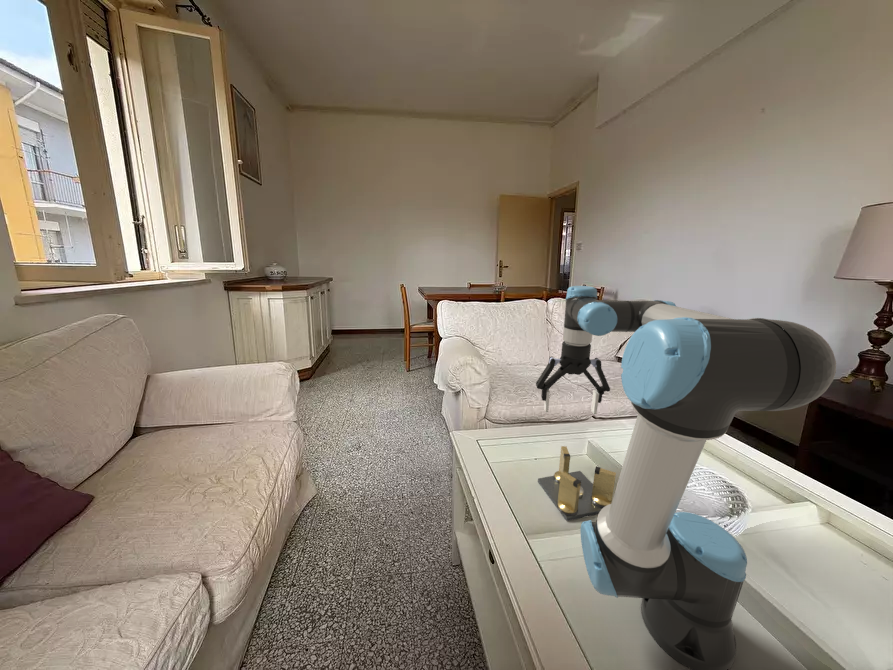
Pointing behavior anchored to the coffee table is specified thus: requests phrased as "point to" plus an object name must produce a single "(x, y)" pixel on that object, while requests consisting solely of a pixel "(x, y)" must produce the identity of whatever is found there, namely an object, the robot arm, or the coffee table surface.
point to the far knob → (563, 463)
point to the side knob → (603, 486)
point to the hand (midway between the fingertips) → (569, 411)
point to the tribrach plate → (585, 497)
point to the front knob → (568, 493)
